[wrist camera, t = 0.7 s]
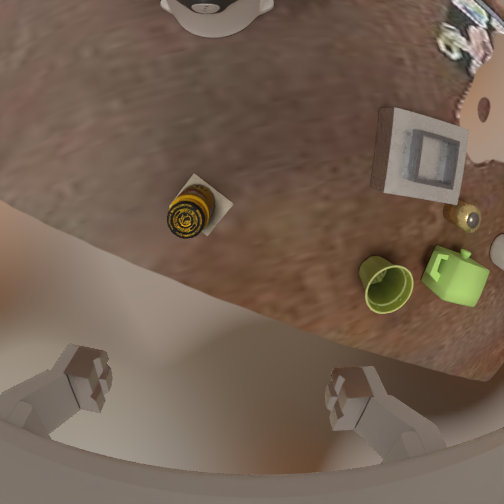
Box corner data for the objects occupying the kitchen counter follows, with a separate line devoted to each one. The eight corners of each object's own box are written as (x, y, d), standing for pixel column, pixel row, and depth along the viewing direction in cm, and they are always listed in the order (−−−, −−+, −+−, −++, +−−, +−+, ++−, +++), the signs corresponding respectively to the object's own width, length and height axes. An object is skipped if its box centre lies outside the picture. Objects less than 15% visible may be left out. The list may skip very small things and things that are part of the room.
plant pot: (354, 246, 56) (371, 265, 48) (398, 247, 57) (418, 266, 49) (346, 290, 60) (360, 314, 52) (388, 290, 60) (406, 312, 52)
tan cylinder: (446, 195, 53) (467, 205, 46) (463, 199, 53) (485, 209, 46) (440, 219, 55) (461, 232, 48) (458, 222, 55) (479, 234, 48)
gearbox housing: (379, 108, 47) (401, 106, 39) (450, 128, 48) (476, 131, 40) (370, 185, 52) (390, 196, 44) (440, 197, 53) (464, 208, 45)
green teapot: (479, 253, 58) (505, 268, 50) (463, 291, 62) (486, 310, 53) (427, 233, 56) (454, 248, 47) (410, 277, 59) (433, 298, 50)
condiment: (194, 173, 51) (180, 185, 40) (233, 203, 53) (231, 224, 42) (169, 206, 53) (149, 227, 42) (207, 235, 55) (198, 263, 44)
